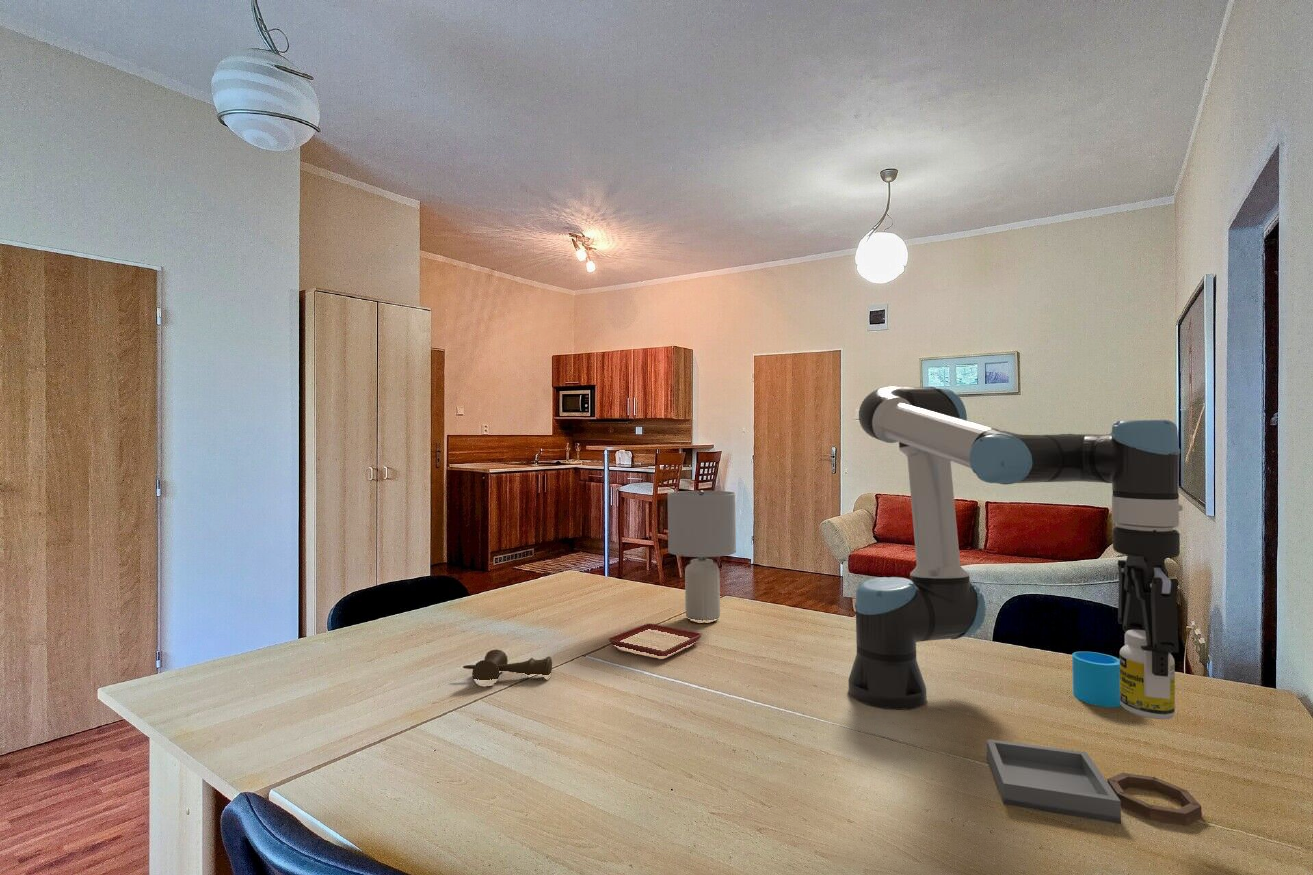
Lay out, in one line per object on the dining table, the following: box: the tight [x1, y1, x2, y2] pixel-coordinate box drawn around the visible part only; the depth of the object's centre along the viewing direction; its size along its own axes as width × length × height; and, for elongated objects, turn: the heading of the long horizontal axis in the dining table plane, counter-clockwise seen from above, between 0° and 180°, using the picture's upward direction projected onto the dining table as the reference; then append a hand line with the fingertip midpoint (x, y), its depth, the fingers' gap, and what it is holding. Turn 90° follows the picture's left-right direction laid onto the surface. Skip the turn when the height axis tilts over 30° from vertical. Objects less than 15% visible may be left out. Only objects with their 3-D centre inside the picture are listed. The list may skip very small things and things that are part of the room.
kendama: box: [462, 648, 553, 680], centre depth 137 cm, size 6×10×20 cm
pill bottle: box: [1119, 630, 1176, 720], centre depth 87 cm, size 6×6×11 cm
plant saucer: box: [607, 623, 703, 656], centre depth 158 cm, size 18×18×3 cm
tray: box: [985, 738, 1122, 825], centre depth 91 cm, size 14×14×3 cm
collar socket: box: [1106, 772, 1203, 827], centre depth 87 cm, size 10×10×2 cm
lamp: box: [667, 489, 737, 621], centre depth 183 cm, size 20×20×39 cm
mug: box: [1071, 651, 1122, 708], centre depth 124 cm, size 12×8×8 cm
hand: (1146, 686), depth 87 cm, fingers closed on pill bottle, 6 cm apart
